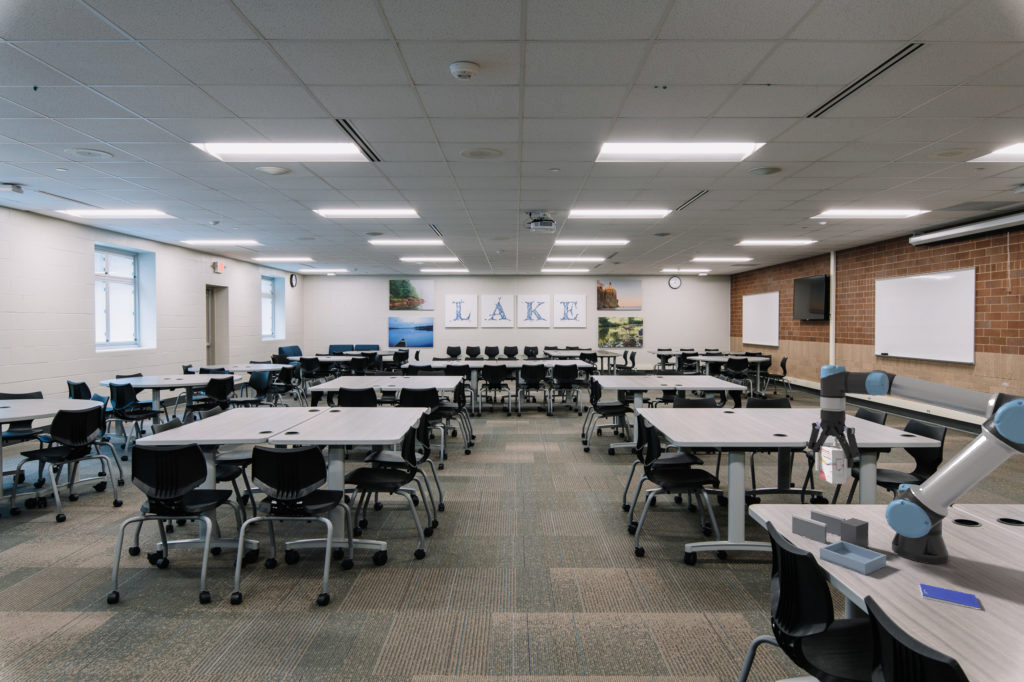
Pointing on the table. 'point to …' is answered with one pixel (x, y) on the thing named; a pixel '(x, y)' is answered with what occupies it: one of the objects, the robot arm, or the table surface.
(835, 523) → the pair of grey slabs
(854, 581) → the table surface
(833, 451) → the ink cartridge box
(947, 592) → the hard drive
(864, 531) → the dark gray block
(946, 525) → the table surface
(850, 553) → the tray
